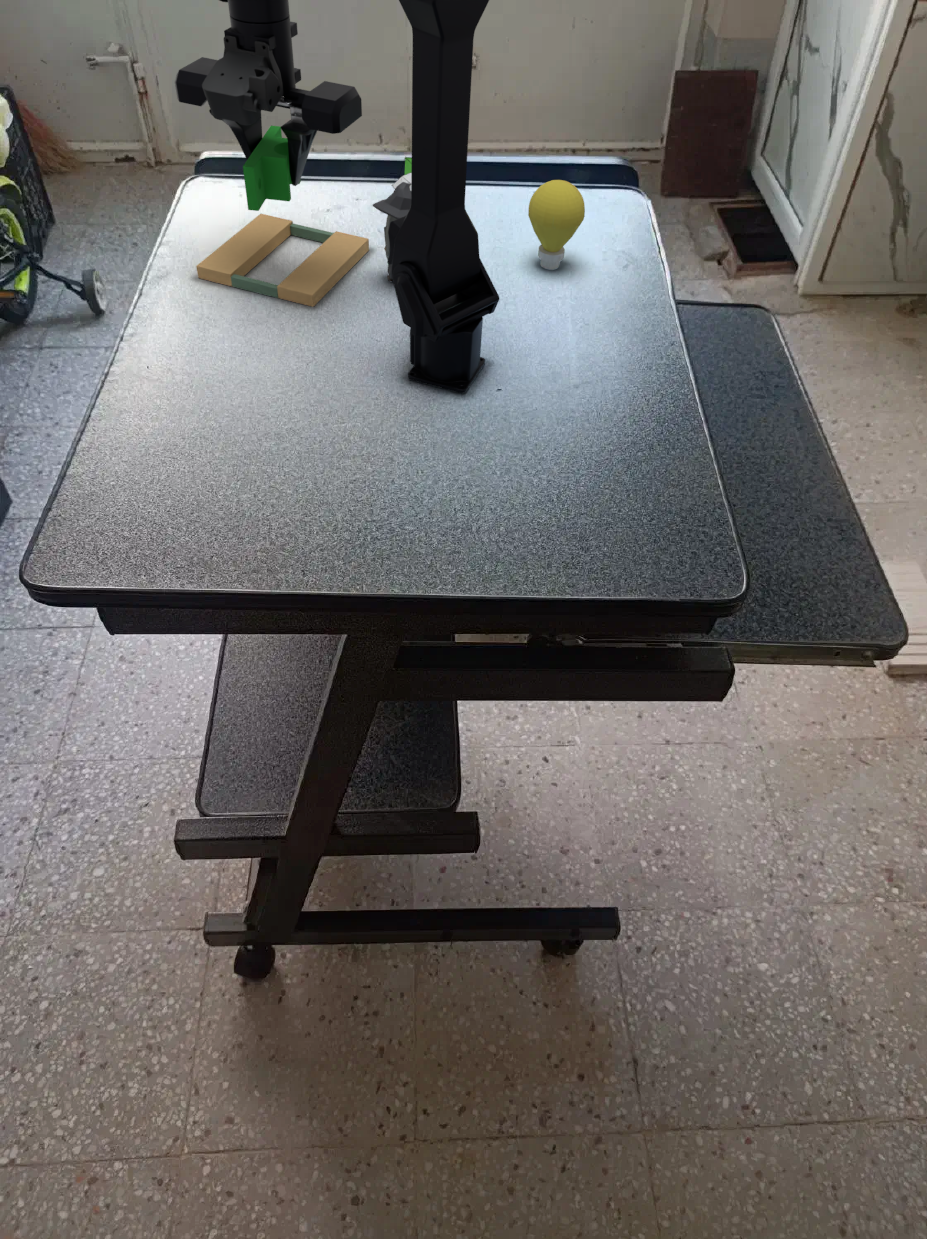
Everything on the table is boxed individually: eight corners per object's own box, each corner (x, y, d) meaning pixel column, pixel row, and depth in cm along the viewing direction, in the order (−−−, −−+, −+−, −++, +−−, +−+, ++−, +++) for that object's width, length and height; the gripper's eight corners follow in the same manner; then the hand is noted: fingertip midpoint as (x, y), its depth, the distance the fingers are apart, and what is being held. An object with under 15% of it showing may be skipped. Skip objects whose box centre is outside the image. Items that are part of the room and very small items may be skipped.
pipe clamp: (282, 214, 95) (278, 170, 92) (248, 211, 96) (242, 166, 92) (307, 170, 103) (303, 127, 99) (275, 167, 103) (270, 124, 99)
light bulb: (538, 246, 114) (547, 165, 106) (585, 262, 112) (598, 179, 104) (513, 267, 110) (520, 184, 103) (561, 284, 108) (573, 200, 100)
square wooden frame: (369, 250, 111) (368, 238, 110) (313, 307, 102) (312, 295, 101) (262, 225, 114) (260, 213, 113) (198, 278, 105) (196, 266, 104)
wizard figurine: (366, 278, 107) (362, 174, 98) (401, 263, 109) (400, 160, 100) (413, 305, 103) (414, 200, 94) (448, 289, 106) (452, 186, 97)
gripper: (127, 21, 83) (161, 192, 95) (307, 55, 80) (320, 228, 91) (192, -9, 90) (217, 153, 102) (361, 21, 87) (366, 186, 98)
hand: (277, 180), depth 98 cm, fingers closed on pipe clamp, 4 cm apart
